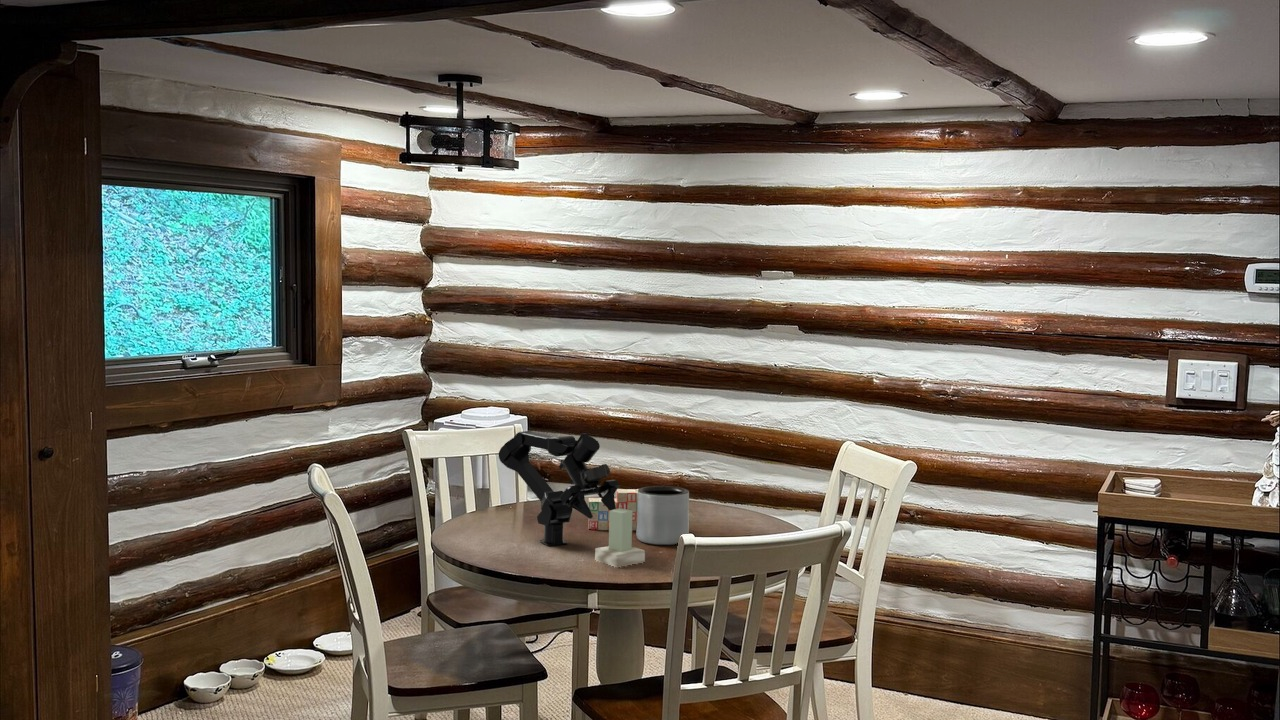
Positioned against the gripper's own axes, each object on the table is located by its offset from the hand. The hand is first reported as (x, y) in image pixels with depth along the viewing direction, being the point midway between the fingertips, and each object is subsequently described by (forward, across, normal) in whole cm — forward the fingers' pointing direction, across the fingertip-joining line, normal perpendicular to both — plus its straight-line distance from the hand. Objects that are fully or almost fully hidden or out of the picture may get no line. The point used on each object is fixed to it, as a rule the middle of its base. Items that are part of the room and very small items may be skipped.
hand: (603, 515), depth 319 cm
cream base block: (+14, 0, +4) cm, 14 cm away
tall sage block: (+11, 0, +1) cm, 11 cm away
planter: (+6, +28, +11) cm, 31 cm away
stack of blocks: (-8, +30, +26) cm, 41 cm away
